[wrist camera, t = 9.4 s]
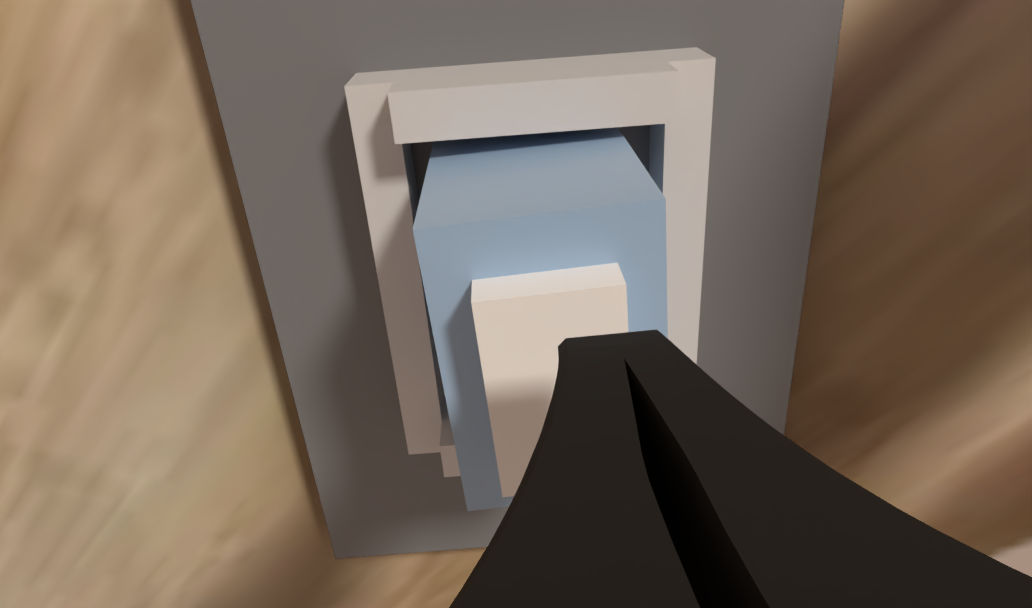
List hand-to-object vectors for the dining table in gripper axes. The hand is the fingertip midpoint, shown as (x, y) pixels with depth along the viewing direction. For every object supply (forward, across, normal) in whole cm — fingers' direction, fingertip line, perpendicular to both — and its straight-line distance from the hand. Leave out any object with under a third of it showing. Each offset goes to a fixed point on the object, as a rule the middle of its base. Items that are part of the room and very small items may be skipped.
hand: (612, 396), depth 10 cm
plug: (+9, +1, +1) cm, 9 cm away
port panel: (+10, +1, +2) cm, 10 cm away
